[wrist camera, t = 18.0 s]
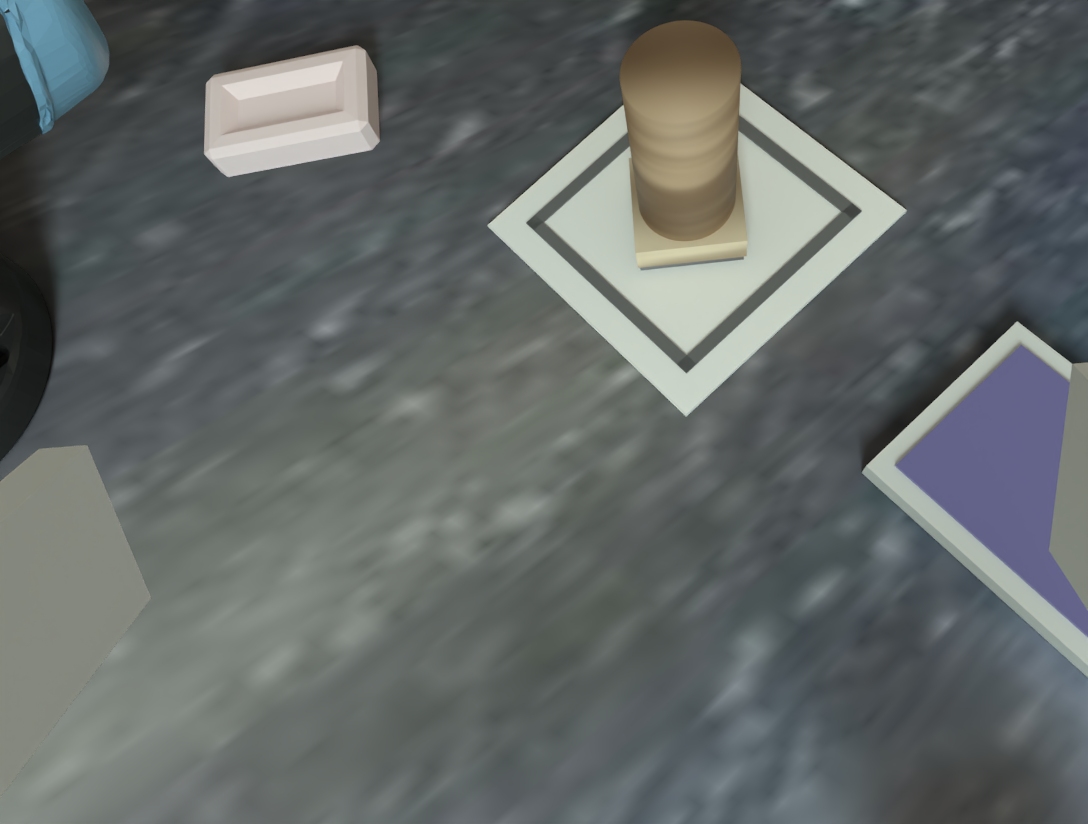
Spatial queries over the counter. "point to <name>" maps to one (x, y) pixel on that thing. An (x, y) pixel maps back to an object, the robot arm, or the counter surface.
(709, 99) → the stamp
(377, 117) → the soap bar
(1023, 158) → the counter surface
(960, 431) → the ink pad
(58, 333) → the counter surface
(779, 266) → the sheet
